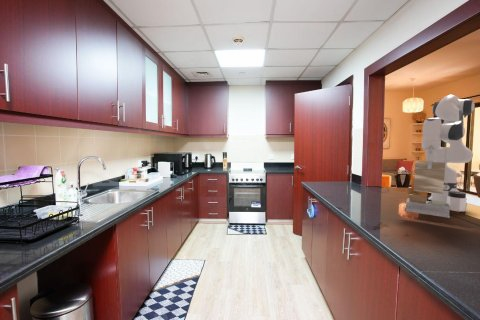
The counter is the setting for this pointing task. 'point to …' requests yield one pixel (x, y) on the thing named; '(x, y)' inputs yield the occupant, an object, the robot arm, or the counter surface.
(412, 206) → the rack
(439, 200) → the robot arm
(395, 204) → the counter surface
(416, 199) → the offcut tall
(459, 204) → the jar
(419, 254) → the counter surface
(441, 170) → the sheet
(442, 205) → the offcut short
